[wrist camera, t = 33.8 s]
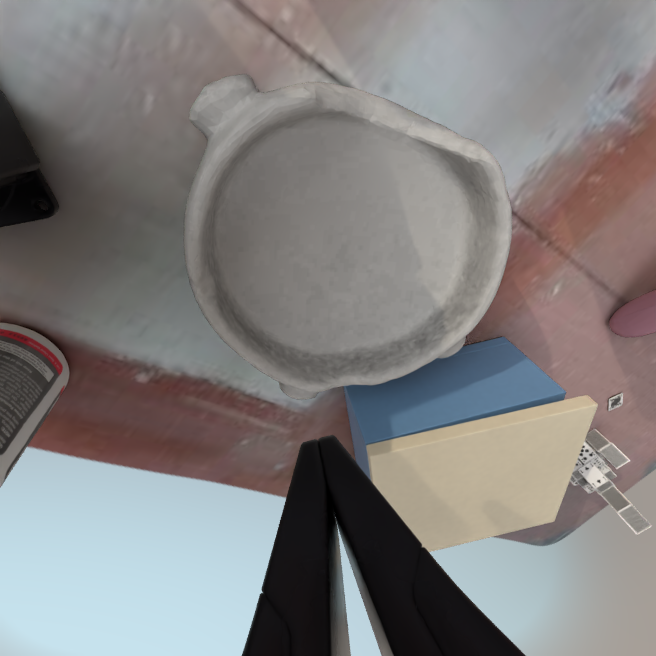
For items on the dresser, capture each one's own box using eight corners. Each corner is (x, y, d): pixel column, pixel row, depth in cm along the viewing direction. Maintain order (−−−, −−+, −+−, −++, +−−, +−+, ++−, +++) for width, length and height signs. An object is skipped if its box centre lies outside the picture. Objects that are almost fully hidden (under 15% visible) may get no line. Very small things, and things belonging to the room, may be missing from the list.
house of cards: (647, 431, 35) (738, 504, 28) (569, 480, 37) (637, 559, 30) (620, 389, 30) (721, 465, 24) (534, 448, 32) (604, 532, 26)
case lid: (587, 394, 19) (598, 404, 19) (547, 510, 26) (554, 521, 25) (365, 444, 19) (369, 457, 18) (380, 551, 25) (383, 563, 24)
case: (504, 335, 25) (566, 391, 20) (487, 444, 31) (532, 507, 26) (341, 375, 24) (365, 443, 19) (358, 478, 30) (379, 550, 25)
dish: (161, 83, 14) (124, 72, 10) (484, 74, 16) (567, 62, 12) (228, 370, 22) (223, 432, 18) (440, 340, 24) (481, 390, 19)
